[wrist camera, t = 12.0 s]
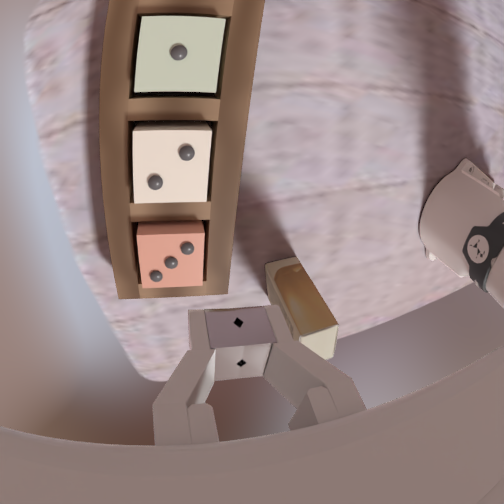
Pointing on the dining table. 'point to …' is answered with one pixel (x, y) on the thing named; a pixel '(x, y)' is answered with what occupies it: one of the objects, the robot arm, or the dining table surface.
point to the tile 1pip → (179, 54)
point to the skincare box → (302, 306)
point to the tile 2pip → (171, 161)
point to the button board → (175, 108)
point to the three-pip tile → (171, 253)
